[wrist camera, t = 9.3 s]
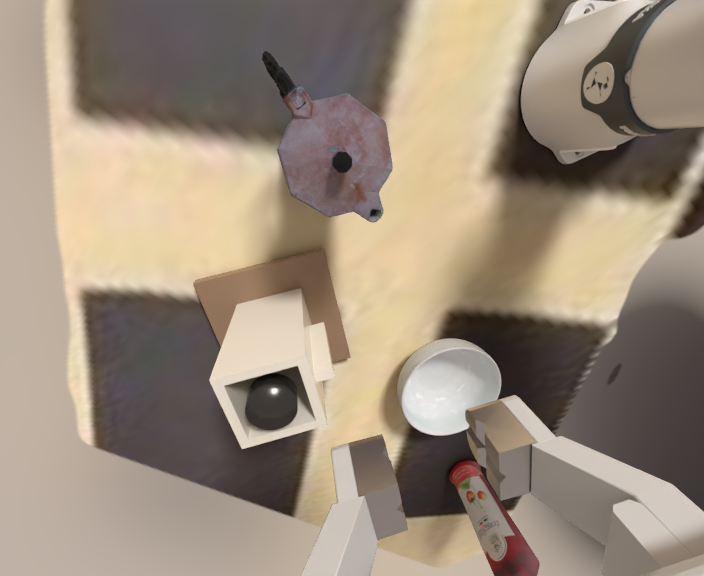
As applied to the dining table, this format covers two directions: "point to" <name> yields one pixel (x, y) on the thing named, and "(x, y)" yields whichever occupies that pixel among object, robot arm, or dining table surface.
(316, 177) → the moka pot
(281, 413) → the dark-topped thin piece
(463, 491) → the liquor
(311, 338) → the hollow square stand
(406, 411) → the cereal bowl
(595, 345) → the dining table surface
